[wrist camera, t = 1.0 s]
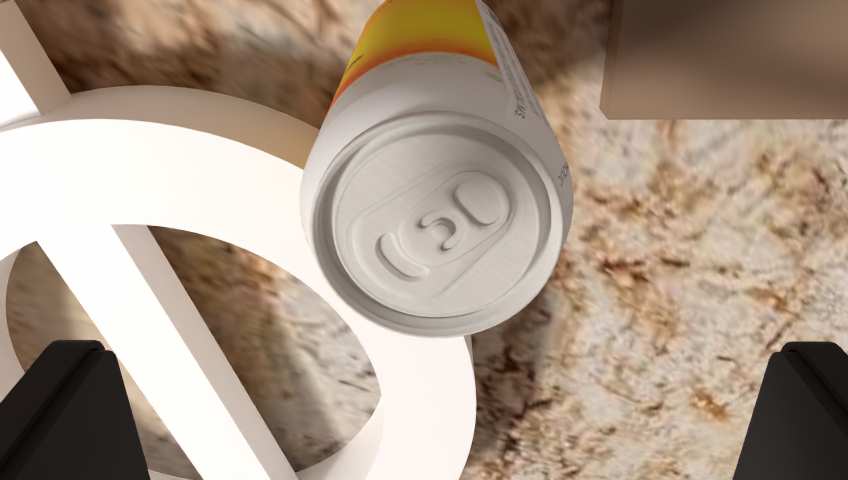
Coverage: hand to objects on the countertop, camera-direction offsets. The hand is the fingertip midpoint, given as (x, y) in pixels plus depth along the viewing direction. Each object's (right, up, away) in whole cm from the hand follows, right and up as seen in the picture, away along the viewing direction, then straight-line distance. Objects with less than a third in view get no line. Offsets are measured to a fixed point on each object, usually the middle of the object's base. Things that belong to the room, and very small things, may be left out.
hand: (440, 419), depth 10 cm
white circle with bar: (-12, -3, +25) cm, 28 cm away
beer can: (0, +10, +17) cm, 20 cm away
